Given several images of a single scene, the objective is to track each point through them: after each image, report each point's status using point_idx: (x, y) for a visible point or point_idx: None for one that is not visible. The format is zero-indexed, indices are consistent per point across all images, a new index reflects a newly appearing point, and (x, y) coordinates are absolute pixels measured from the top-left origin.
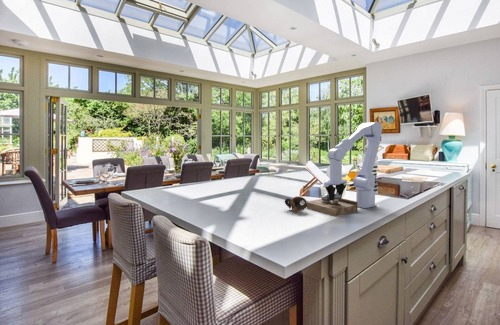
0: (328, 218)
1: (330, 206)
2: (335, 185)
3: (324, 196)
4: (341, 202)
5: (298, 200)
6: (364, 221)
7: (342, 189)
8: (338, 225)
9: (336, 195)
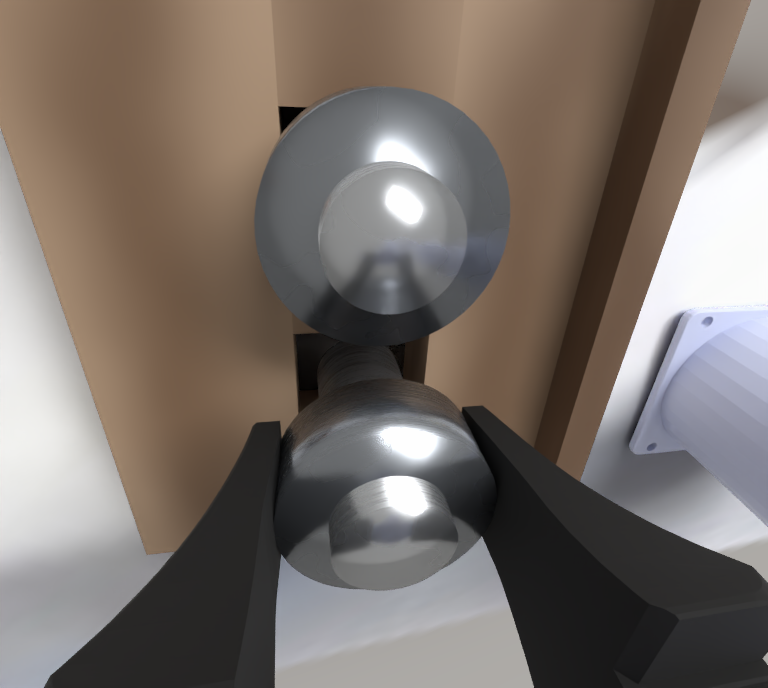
0: (34, 519)
1: (202, 436)
2: (629, 603)
3: (312, 233)
4: (522, 355)
5: None
6: (279, 642)
7: (527, 659)
8: (6, 655)
9: (318, 581)
